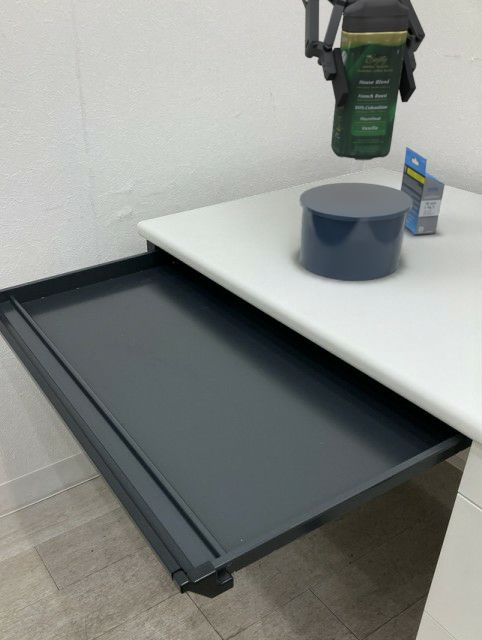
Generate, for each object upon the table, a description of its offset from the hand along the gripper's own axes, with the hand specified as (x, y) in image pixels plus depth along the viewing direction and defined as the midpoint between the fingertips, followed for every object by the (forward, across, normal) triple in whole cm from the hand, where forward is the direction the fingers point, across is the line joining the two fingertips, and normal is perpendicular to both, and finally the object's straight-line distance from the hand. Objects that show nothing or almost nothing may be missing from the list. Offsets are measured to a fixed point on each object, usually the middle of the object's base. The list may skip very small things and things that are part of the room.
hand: (376, 97), depth 76 cm
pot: (+14, 0, -19) cm, 24 cm away
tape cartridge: (+6, -16, -27) cm, 32 cm away
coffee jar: (+3, 0, -8) cm, 9 cm away
